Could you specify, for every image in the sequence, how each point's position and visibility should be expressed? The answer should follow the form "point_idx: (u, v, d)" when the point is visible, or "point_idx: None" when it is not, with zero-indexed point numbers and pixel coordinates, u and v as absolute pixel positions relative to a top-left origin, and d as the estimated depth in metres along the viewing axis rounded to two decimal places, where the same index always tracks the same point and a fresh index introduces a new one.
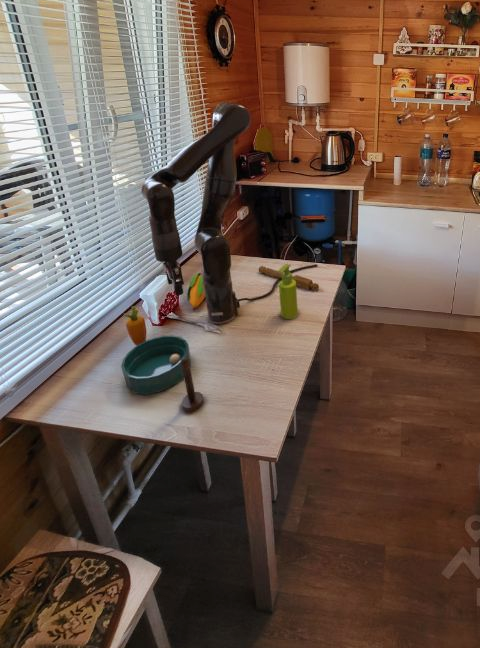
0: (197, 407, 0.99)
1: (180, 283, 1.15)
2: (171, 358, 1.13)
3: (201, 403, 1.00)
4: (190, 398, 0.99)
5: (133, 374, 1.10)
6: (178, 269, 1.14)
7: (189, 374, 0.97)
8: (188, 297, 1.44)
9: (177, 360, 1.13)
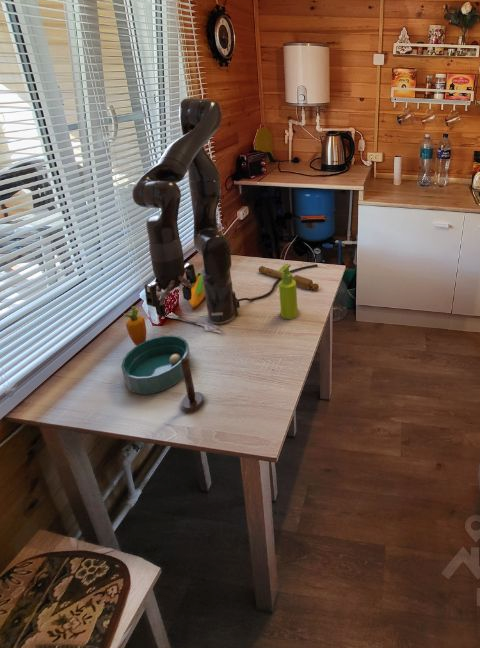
0: (197, 407, 0.99)
1: (151, 304, 0.96)
2: (171, 358, 1.13)
3: (201, 403, 1.00)
4: (190, 398, 0.99)
5: (133, 374, 1.10)
6: (149, 288, 0.95)
7: (189, 374, 0.97)
8: None
9: (177, 360, 1.13)
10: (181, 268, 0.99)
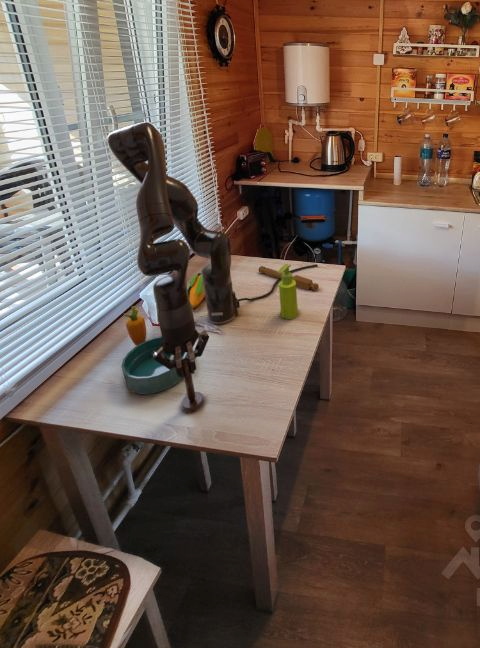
0: (197, 407, 0.99)
1: None
2: (171, 358, 1.13)
3: (201, 403, 1.00)
4: (190, 398, 0.99)
5: (133, 374, 1.10)
6: (154, 358, 0.90)
7: (189, 374, 0.97)
8: None
9: None
10: (186, 337, 0.90)
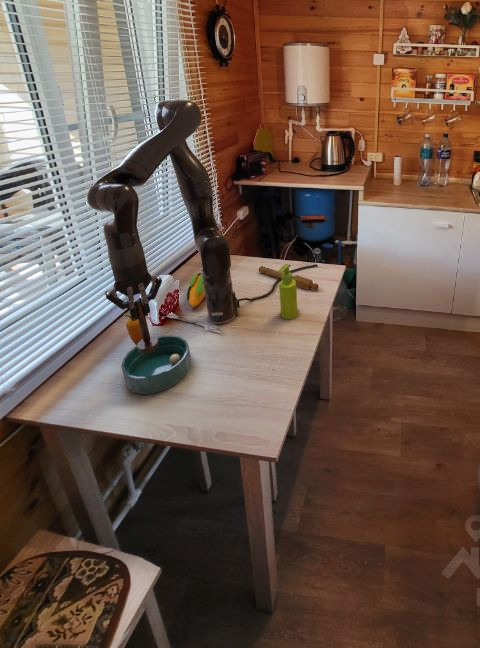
0: (152, 349, 1.04)
1: None
2: (171, 358, 1.13)
3: (156, 346, 1.05)
4: (145, 340, 1.04)
5: (133, 374, 1.10)
6: (106, 297, 0.95)
7: (143, 316, 1.02)
8: (188, 297, 1.44)
9: (177, 360, 1.13)
10: (136, 276, 0.95)
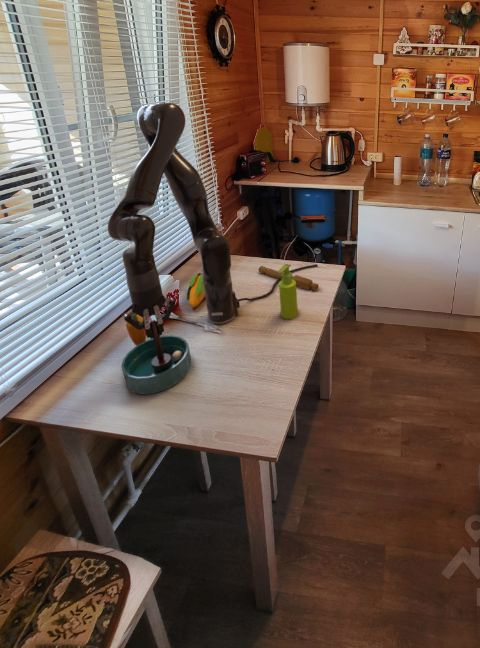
0: (165, 366, 1.11)
1: None
2: (177, 351, 1.15)
3: (169, 362, 1.12)
4: (159, 358, 1.11)
5: (133, 374, 1.10)
6: (124, 319, 1.01)
7: (158, 336, 1.09)
8: (188, 297, 1.44)
9: (179, 357, 1.14)
10: (152, 300, 1.02)
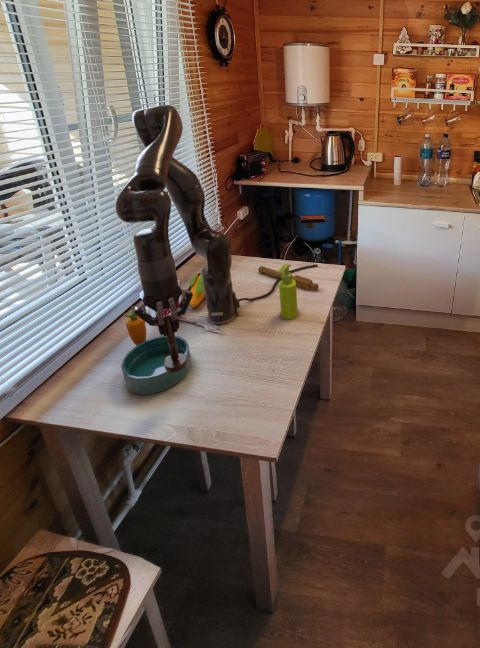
0: (180, 367, 0.97)
1: None
2: None
3: (184, 364, 0.98)
4: (173, 358, 0.97)
5: (133, 374, 1.10)
6: (134, 312, 0.88)
7: (172, 333, 0.95)
8: None
9: None
10: (167, 291, 0.88)
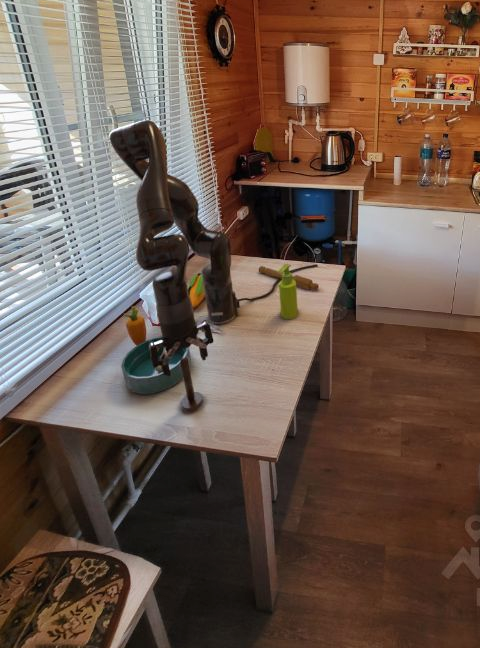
0: (196, 407, 0.99)
1: (152, 363, 0.90)
2: None
3: (200, 403, 1.00)
4: (189, 398, 0.99)
5: (133, 374, 1.10)
6: (150, 347, 0.89)
7: (189, 374, 0.97)
8: None
9: None
10: (185, 332, 0.90)
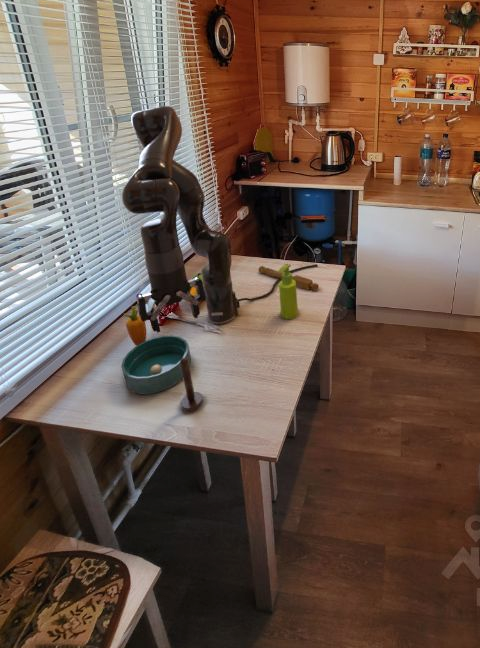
0: (196, 407, 0.99)
1: (141, 317, 0.86)
2: None
3: (200, 403, 1.00)
4: (189, 398, 0.99)
5: (133, 374, 1.10)
6: (138, 299, 0.84)
7: (189, 374, 0.97)
8: None
9: (159, 370, 1.09)
10: (176, 284, 0.85)
